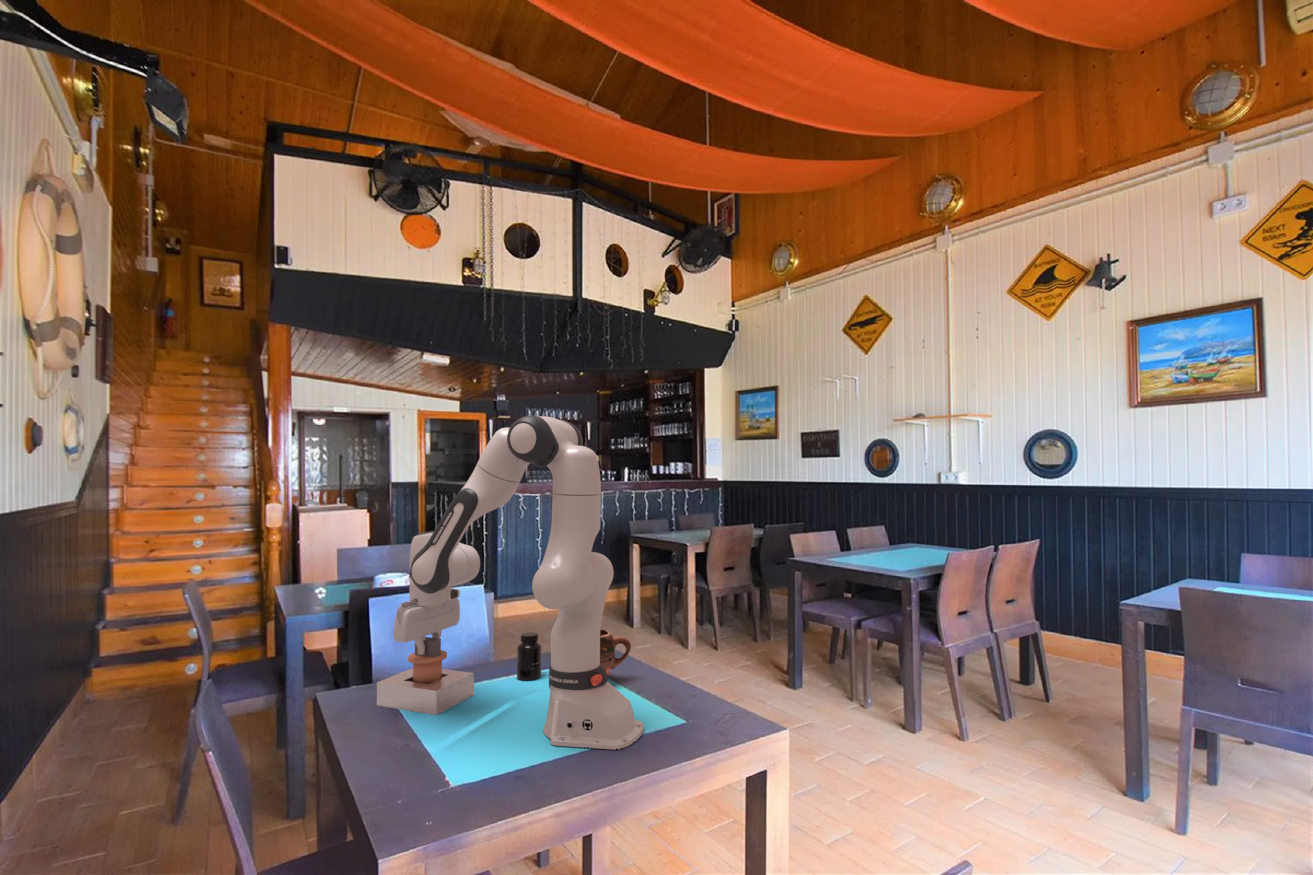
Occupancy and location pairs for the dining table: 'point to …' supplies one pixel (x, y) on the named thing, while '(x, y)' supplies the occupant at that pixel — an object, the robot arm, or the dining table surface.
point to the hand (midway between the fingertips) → (427, 651)
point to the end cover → (428, 662)
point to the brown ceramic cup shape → (611, 649)
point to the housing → (425, 692)
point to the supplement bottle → (529, 657)
